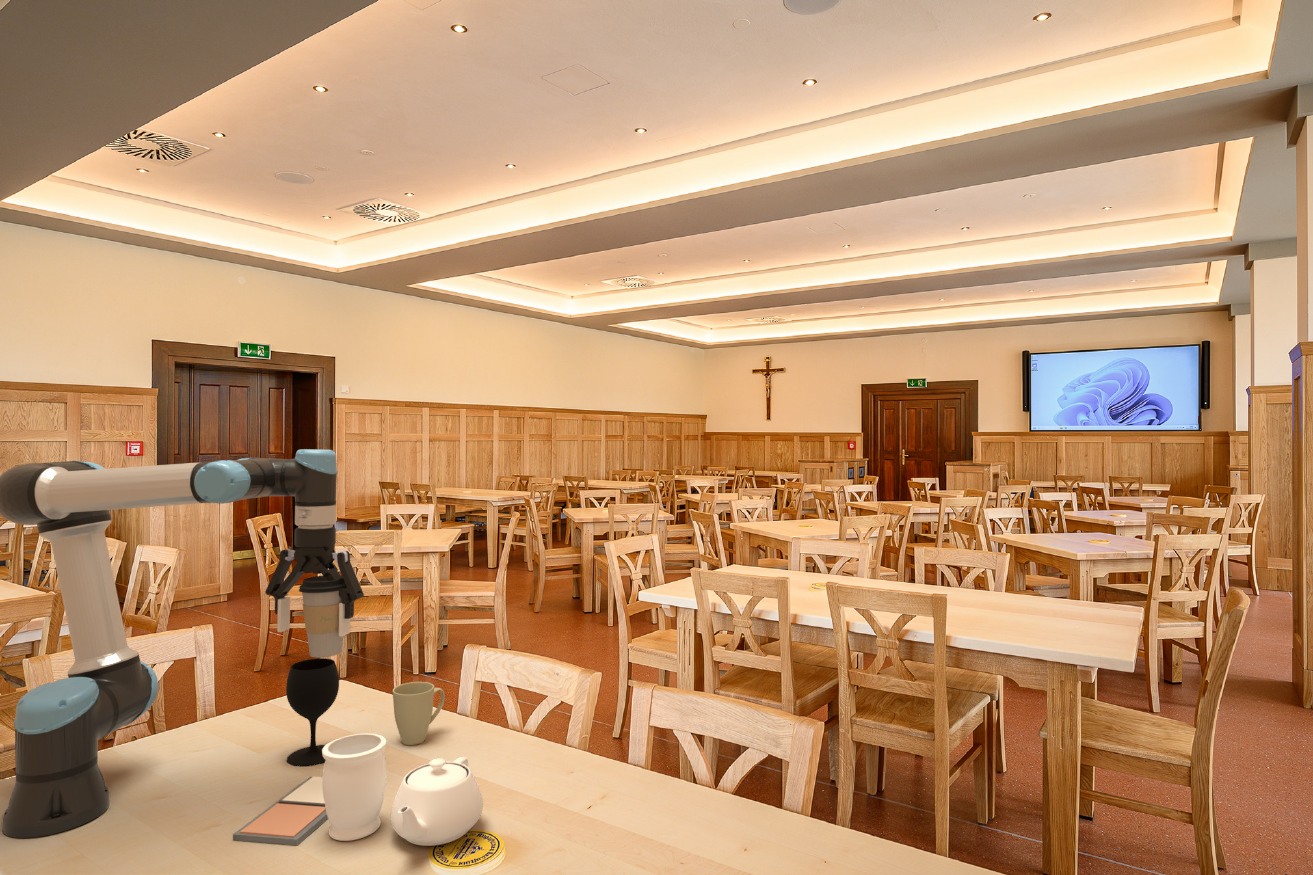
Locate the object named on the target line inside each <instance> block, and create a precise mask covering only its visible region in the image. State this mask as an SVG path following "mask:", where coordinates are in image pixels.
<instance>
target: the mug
mask: <svg viewBox="0 0 1313 875" xmlns="http://www.w3.org/2000/svg"><path fill="white" fill-rule="evenodd" d="M437 692H439V693H440V700H439V704H438V706H437V707H436V709H435V711H433V710H434V709H433V707H434V696H435V694H436V693H437ZM392 699H393V700H392V702H393V703H392V704H393V713H394V722H395V725H396V728H397V730H398V734H399V737H400V739H401V743H402V744H404V745H405V746H416V745H420V744H422V743H424V741H425V740H426V736H427V733H428V730H429V727H430V725H431V724H432V723H433V721H434V720H435V719H436V718H437V716H439V713H440V711H441V710H442V709H443V707H444V704H445V699H446V695H445V691H444V690H443V689H442V688H440V687H435V685H434V684H433V683H431V682H427V681H411V682H406V683H405V682H404V683H401V684H399V685H396V686H395V687H394V688H393V689H392Z"/></svg>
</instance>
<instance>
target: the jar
mask: <svg viewBox="0 0 1313 875" xmlns="http://www.w3.org/2000/svg"><path fill="white" fill-rule="evenodd" d="M324 745H325V746H324V747H323V749H322V755H323V757H324V759H325V760H326V761H325V763H323V764H324V765H323V768H322V769H323V771H322V776H321V777H322V790H323V797H324V802H325V809H326V814H327V817H328V819H327V820H329V823H330V824H331V825H330V827H329V829H328V835H329V837H330V838H331V839H333V840H337V841H342V842H349V841H356V840H360V839H363V838H365V837H368V836H370V835H372V834H373V833H375V832H376V831H377V830H378V829H379V828H380V826H381V823H382V822H381V818H380V816H379V815H380V812H381V810H382V807H383V803H384V799H385V790H386V786H387V774H388V773H387V772H388V771H387V761H386V756H385V751H384V750H385V749H386V747H387V739H386V738H385V737H384V736H383V735H380V734H376V733H356V734H349V735H346V736H342V737H339V738H336V739H333V740H332V741H330V742H328V743H327V744H324Z"/></svg>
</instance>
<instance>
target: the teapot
mask: <svg viewBox="0 0 1313 875" xmlns="http://www.w3.org/2000/svg"><path fill="white" fill-rule="evenodd" d="M399 785H400V786H399V787H398V790H397V792H396V795H395V797H394V799H393V802H392V805H391V810H390V823H391V826H392V828H393V831H394V832H395V833H397V835H398V836H399V837H401V838H403V839H404V840H406V841H407V842H408V843H411V844H413V845H416V846H424V847H425V846H426V847H427V846H430V847H431V846H440V845H445V844H448V843H450V842H454V841H456V840H458V839H460V838H462V837H463V836H464V835H466V834H467V833H468V832H469V831H470V830H471V828H473V827H474V826H475V825H476V824H477V822H478V821H479V819H480V817H481V815H482V813H483V808H484V800H483V795H482V791H481V789H480V785H479V784H478V781H477V778H476V777H475V776H474V773H473V772H472V770H471V769H470V768H469V760H468V758H467V757H465V756H460V757H457V758H456V759H455V760H453V761H447V760H445V758H439V757H438V758H434V759H431V760H430V761H429V763H425V764H422V765H420V766H417V767H415V768H412V769H411V770H410V771H409V772H408V773H406V774H405V775H404V777H403V779H402V781H401V783H400V784H399Z"/></svg>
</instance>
